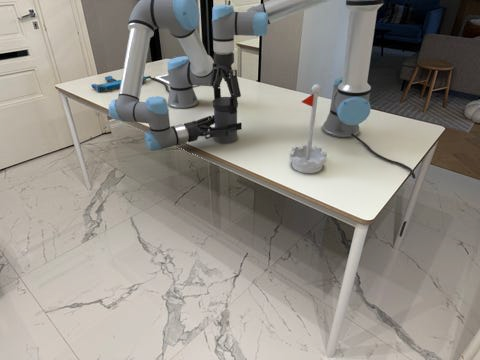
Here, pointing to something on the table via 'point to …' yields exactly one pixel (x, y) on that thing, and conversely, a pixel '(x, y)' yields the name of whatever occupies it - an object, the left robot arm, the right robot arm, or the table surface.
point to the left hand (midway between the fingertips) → (235, 121)
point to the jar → (225, 124)
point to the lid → (222, 103)
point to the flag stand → (309, 143)
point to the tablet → (166, 79)
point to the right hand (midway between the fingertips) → (225, 108)
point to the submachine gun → (111, 84)
